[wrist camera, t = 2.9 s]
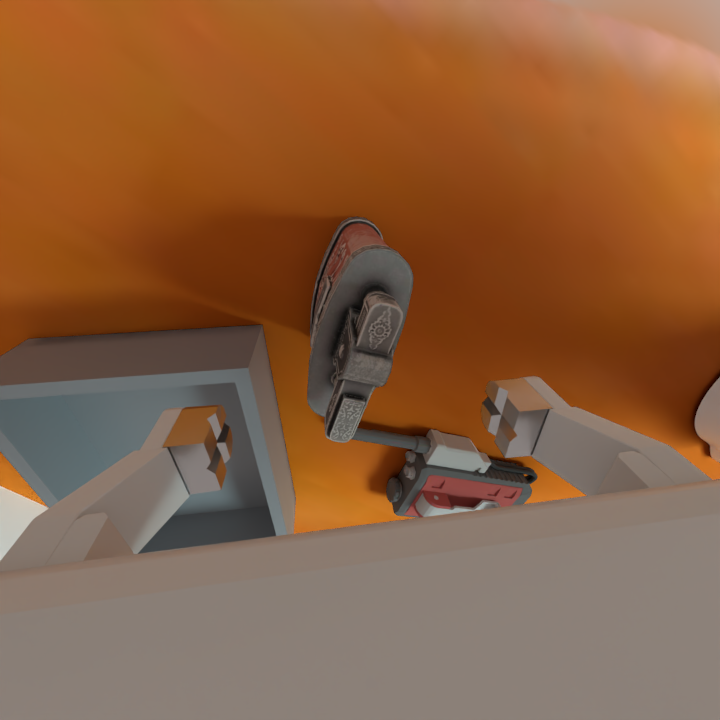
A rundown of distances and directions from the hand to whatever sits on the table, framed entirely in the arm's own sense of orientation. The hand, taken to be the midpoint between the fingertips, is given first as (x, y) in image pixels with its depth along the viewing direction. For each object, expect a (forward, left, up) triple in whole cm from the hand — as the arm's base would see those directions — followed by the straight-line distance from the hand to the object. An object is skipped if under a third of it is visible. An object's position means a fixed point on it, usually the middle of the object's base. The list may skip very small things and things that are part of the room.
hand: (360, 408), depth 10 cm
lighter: (0, 0, -12) cm, 12 cm away
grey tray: (+12, +11, -11) cm, 20 cm away
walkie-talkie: (-7, +17, -12) cm, 22 cm away
